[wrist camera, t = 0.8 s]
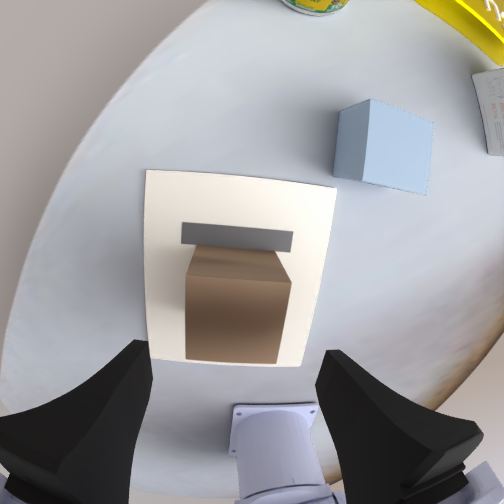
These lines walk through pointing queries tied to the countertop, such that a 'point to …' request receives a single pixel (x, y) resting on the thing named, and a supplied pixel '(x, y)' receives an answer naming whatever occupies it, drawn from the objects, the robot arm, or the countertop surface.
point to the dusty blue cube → (384, 147)
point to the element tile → (474, 22)
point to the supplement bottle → (316, 6)
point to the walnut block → (235, 305)
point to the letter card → (231, 246)
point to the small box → (492, 107)
